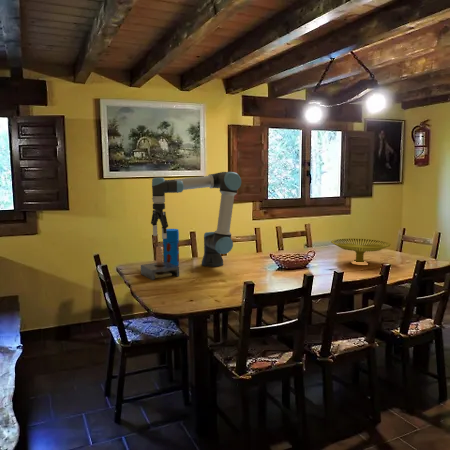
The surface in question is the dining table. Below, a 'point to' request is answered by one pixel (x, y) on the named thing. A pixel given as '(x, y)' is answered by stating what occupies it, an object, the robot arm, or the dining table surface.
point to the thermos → (171, 247)
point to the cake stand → (360, 247)
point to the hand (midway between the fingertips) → (159, 237)
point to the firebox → (159, 270)
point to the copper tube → (159, 258)
